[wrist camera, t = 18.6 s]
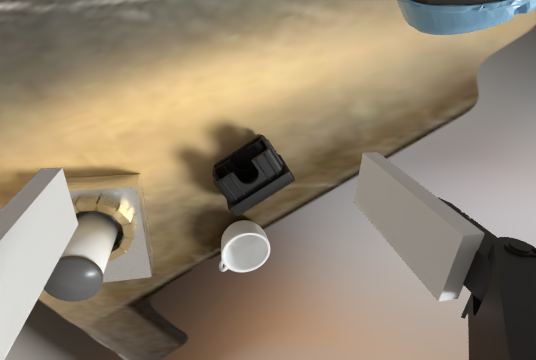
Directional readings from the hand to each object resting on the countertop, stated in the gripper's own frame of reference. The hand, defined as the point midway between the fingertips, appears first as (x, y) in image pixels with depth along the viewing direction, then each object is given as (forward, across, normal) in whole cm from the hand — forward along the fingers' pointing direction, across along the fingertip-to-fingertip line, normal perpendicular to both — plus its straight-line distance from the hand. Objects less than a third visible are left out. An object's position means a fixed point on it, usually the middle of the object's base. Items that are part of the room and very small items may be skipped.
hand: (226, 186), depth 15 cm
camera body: (+32, -16, -22) cm, 42 cm away
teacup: (+32, +4, -27) cm, 42 cm away
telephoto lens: (+27, -16, -20) cm, 38 cm away
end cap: (+32, +6, -14) cm, 35 cm away
